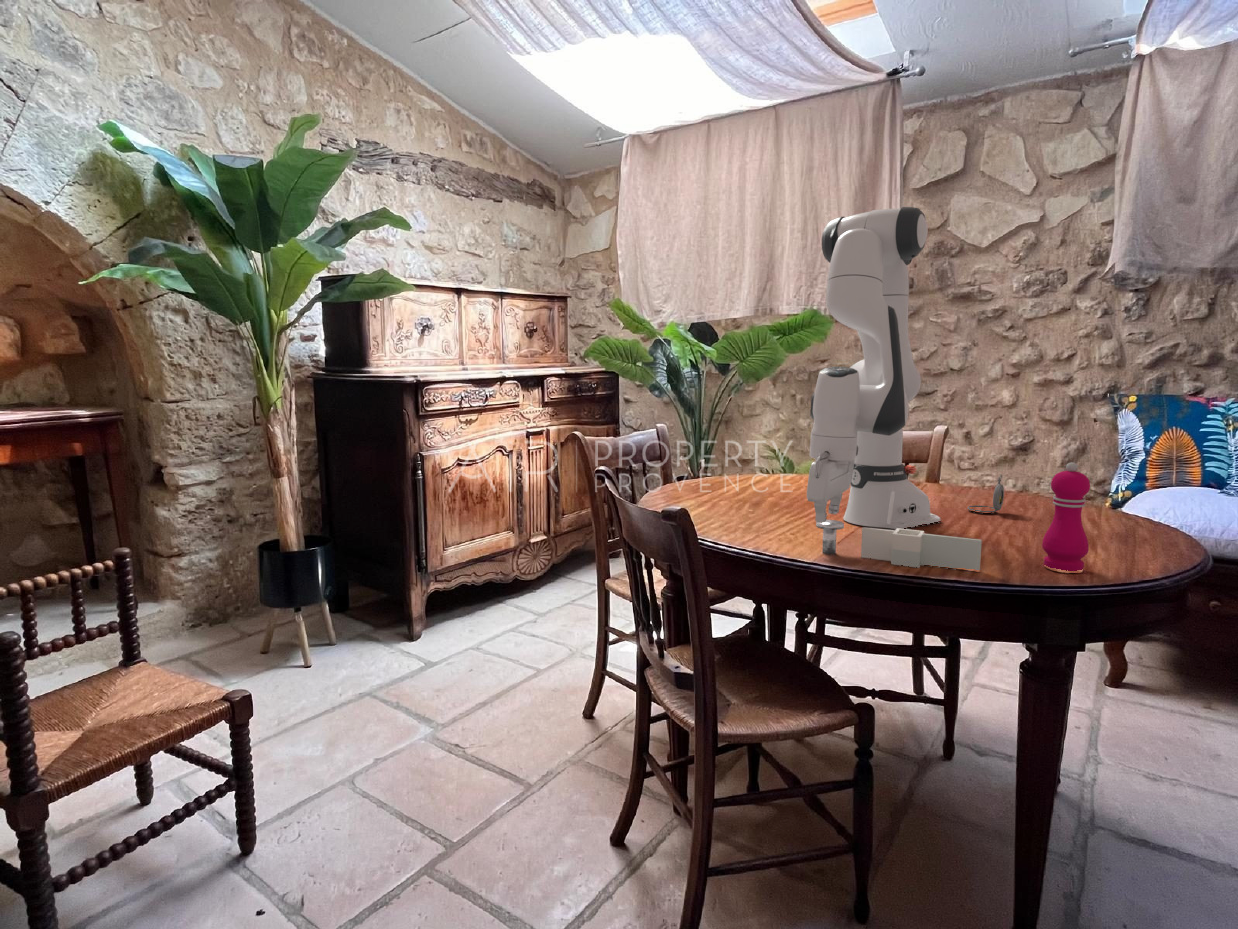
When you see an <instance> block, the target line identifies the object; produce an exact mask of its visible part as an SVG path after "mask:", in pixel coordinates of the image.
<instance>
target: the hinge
mask: <svg viewBox="0 0 1238 929" xmlns="http://www.w3.org/2000/svg"><path fill="white" fill-rule="evenodd" d="M982 542H983V540H982V539H978V538H971V537H970V538H969V537H961V536H950V535H942V534H941V535H940V534H931V533H925V531H924V530H919V529H918V530H917V529H910V528H906V529H900V528H897V529H887V528H877V527H868V526H862V527H861V543H860V544H861V550H860V551H861V552H860V558H861V559H862V558H863V559H870V558H871V560H877V561H884V562H885V561H887V562H890V564H891V565H895V566H901V565H903V566H902V567H908V566H909V567H911V568H916V567H917V569H918V568H919V569H920V567H921V566H924V565H931V566H930V567H932V566H939V567H938V568H940V567H949V568H965V569H975V570H980V571H981V559H982V558H981V557H982V556H981V555H982V545H983V544H982Z"/></svg>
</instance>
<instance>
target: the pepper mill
mask: <svg viewBox="0 0 1238 929" xmlns="http://www.w3.org/2000/svg"><path fill="white" fill-rule="evenodd" d="M1078 468H1079V467H1078V464H1077V463H1076V462H1068V463H1067V464H1066V466H1065V470H1063V471H1060V472H1057V473H1055V475H1054V476H1053V477H1052V479H1051V482H1050V488H1051V491H1052V492H1053V493H1054V495H1053V497H1052V498H1053V501H1052V504H1053V505H1054V514H1053V518H1052V521H1051V524H1050V525H1049V527H1048V529H1047V530H1046V532H1045V534H1044V536H1043V539H1042V544H1041V547H1042V550H1043V551H1044V552H1045V553H1046V554H1047V556H1045V557H1043V566H1044V565H1046V566H1048V567H1050V568H1056V569H1061V570H1066V571H1067V570H1068V571H1077V570H1082V569H1083V568H1084V567H1085V562H1084V561H1083V560H1082V559H1083V558H1084V557H1085V556H1086V555H1087V554H1088V553H1089V550H1090V548H1089V541H1088V537H1087V535H1086V534H1087V533H1086V532H1085V530H1084V529H1085V528H1084V527H1083V522H1082V511H1083V508H1084V507H1085V506H1086V504H1085V502H1086V499H1085V498H1084V497H1086V495H1087V494H1088V493H1089V492H1090V489H1091V482H1090V479H1089V477H1088V476H1087V475H1086V474H1084V473H1082V472H1080V471H1077V470H1078Z"/></svg>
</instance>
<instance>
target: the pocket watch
mask: <svg viewBox="0 0 1238 929" xmlns="http://www.w3.org/2000/svg"><path fill="white" fill-rule="evenodd" d="M1002 479H1003V474H1000V475H999V477H998V479H997V484H996V486H995V487H994V490H993V496H992V506H988V505H968V506H967V510H968V509H969V510H974V509H970V508H969V507H990V508H992V509H995V510H994V511H981V510H975V511H980V512H995V511H997V512H998V511H1000V510H1002V507H1003V504H1004V498H1005V497H1004V496H1005V488H1004V485H1003V484H1001V481H1002ZM969 510H968V511H969Z"/></svg>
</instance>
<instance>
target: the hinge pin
mask: <svg viewBox="0 0 1238 929" xmlns="http://www.w3.org/2000/svg"><path fill="white" fill-rule="evenodd" d="M815 526H816V528H818V529H821V530H822V551H821V552H822V554H823V555H828V556H829V555H831V556H832V555H835V554H836V553H837V531H838V530H843V529H845V523H844V522H843V521H840V520H835V519H826V521H825V522H824V523H820V522H816V521H815Z"/></svg>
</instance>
